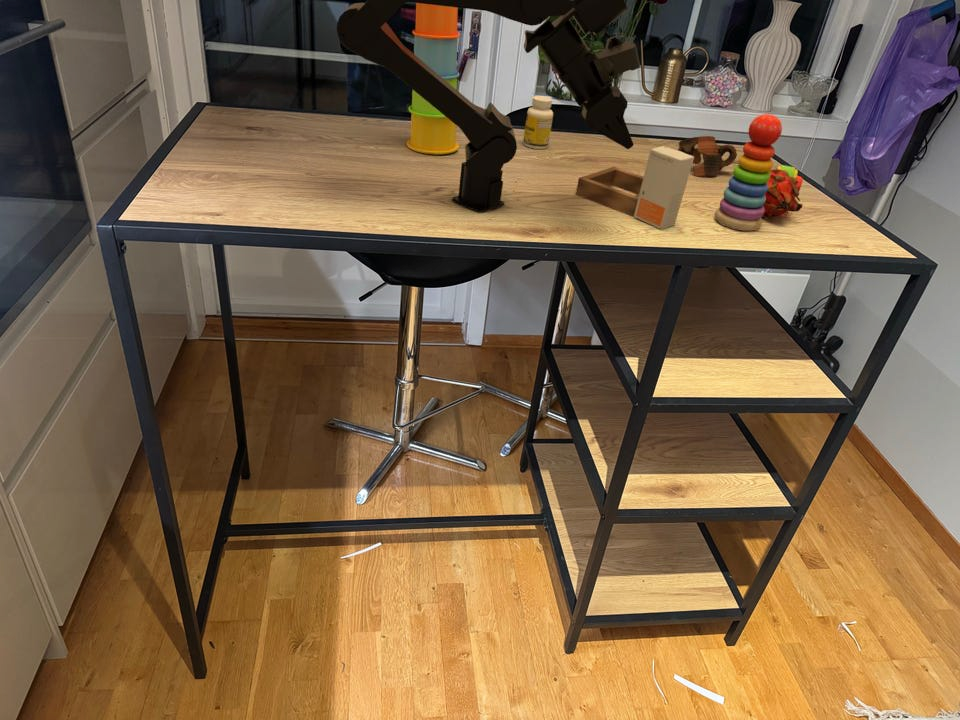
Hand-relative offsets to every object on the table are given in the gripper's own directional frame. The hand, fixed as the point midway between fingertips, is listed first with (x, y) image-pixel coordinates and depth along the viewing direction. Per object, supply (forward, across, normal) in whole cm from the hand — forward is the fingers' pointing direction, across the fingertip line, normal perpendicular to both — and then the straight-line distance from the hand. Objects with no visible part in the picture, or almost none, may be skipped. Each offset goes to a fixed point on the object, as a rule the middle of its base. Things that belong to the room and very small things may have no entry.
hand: (625, 138), depth 113 cm
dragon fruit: (+32, +9, -13) cm, 36 cm away
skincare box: (+15, 0, +4) cm, 16 cm away
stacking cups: (-12, +28, +31) cm, 44 cm away
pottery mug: (+28, +32, -9) cm, 43 cm away
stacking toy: (+26, +3, -7) cm, 27 cm away
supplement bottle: (+3, +37, +16) cm, 40 cm away
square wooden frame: (+14, +13, +5) cm, 20 cm away
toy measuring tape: (+37, +21, -18) cm, 46 cm away
